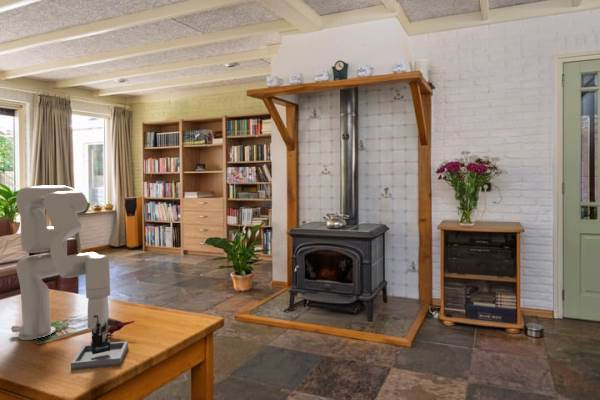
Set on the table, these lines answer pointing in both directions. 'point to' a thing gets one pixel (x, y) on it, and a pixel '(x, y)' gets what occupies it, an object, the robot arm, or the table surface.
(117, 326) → the decorative bird figurine
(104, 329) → the watch
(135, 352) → the table surface
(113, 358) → the tray
